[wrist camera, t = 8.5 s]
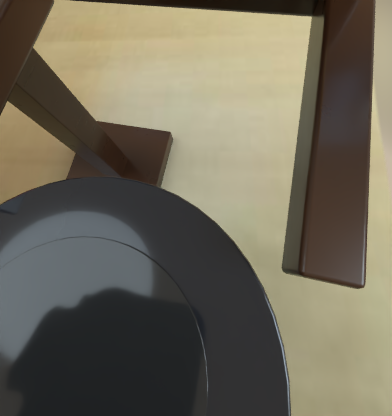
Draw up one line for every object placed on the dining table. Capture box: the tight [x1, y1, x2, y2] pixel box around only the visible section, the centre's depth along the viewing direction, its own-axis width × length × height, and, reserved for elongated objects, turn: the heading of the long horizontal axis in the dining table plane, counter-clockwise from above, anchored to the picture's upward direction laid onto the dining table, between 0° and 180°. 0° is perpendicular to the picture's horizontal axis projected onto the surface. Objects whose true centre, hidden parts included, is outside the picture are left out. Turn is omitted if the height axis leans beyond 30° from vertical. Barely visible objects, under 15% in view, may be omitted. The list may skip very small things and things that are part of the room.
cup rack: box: [0, 0, 375, 289], centre depth 11 cm, size 10×16×16 cm, turn 78°
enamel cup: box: [0, 176, 291, 416], centre depth 10 cm, size 7×7×13 cm
